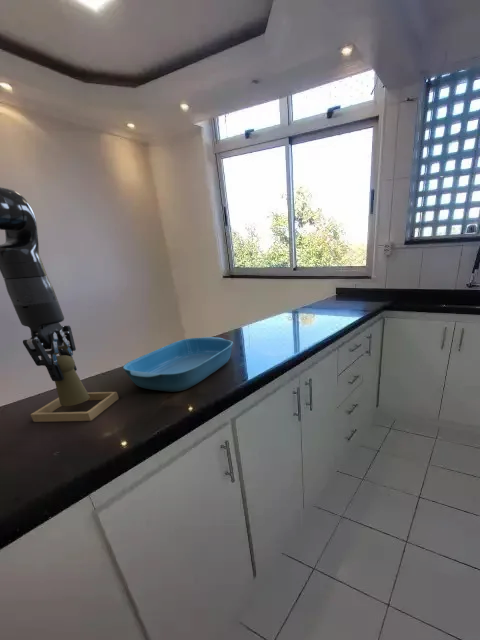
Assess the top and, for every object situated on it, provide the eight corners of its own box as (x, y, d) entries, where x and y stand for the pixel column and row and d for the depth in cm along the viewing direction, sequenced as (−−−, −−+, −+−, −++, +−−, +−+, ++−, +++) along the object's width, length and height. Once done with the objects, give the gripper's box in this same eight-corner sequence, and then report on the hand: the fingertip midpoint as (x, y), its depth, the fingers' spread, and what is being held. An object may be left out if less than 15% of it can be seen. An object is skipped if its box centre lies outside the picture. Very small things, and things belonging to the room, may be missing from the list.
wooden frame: (35, 425, 71) (30, 414, 70) (69, 402, 82) (65, 392, 81) (92, 423, 71) (88, 413, 70) (119, 401, 81) (116, 391, 80)
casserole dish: (180, 402, 79) (174, 376, 76) (112, 394, 86) (104, 370, 82) (245, 357, 111) (243, 337, 107) (192, 353, 117) (188, 335, 114)
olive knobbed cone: (87, 392, 79) (72, 351, 74) (91, 400, 75) (75, 356, 70) (59, 400, 75) (40, 356, 71) (61, 408, 71) (42, 363, 66)
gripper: (36, 296, 71) (64, 366, 78) (-11, 307, 58) (28, 389, 65) (72, 294, 71) (96, 364, 79) (33, 304, 59) (66, 386, 66)
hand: (65, 375), depth 72 cm, fingers closed on olive knobbed cone, 5 cm apart
